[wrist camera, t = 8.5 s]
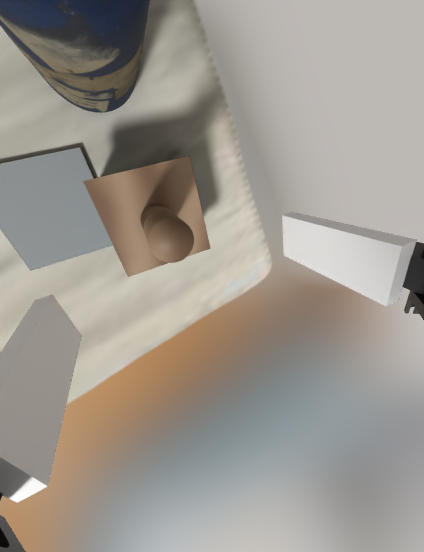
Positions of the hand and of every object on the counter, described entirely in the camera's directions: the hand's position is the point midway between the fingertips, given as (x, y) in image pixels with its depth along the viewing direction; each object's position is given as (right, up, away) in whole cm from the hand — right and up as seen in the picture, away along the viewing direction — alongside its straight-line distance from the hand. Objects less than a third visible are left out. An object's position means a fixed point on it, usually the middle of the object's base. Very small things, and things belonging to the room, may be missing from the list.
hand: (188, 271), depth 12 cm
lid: (-5, +7, +14) cm, 16 cm away
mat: (-18, +8, +14) cm, 24 cm away
